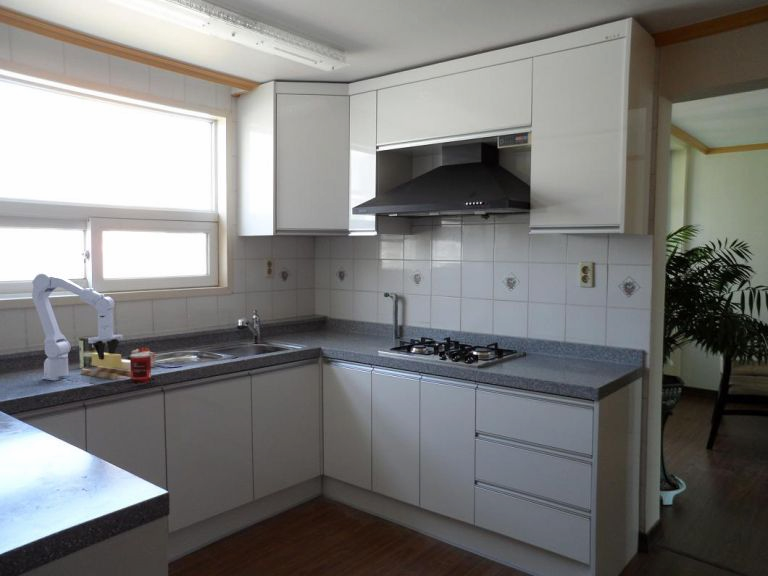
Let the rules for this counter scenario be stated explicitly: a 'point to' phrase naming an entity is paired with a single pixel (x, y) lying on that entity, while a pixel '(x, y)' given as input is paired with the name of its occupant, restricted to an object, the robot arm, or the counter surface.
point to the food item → (146, 350)
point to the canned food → (140, 367)
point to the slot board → (107, 372)
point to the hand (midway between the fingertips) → (106, 358)
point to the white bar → (125, 365)
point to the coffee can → (86, 351)
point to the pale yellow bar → (107, 360)
